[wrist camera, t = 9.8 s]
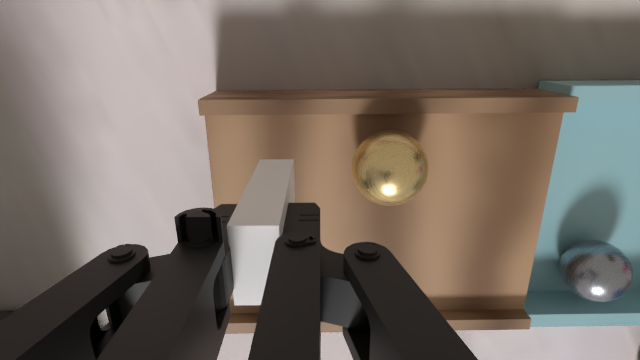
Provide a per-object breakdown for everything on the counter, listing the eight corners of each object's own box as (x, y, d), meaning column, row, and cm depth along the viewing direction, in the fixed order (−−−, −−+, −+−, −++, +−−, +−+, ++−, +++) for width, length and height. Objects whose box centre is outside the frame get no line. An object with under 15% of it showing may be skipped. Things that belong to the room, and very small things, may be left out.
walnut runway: (235, 295, 29) (223, 333, 25) (216, 90, 24) (198, 100, 20) (501, 292, 29) (529, 329, 26) (537, 88, 24) (579, 97, 20)
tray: (500, 297, 29) (521, 327, 26) (539, 80, 24) (571, 85, 21) (657, 295, 30) (696, 324, 27) (730, 78, 24) (789, 84, 21)
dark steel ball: (640, 311, 25) (589, 276, 29) (658, 256, 24) (602, 227, 27) (585, 318, 24) (540, 282, 28) (600, 262, 23) (551, 231, 27)
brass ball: (347, 190, 23) (354, 219, 19) (349, 123, 22) (356, 140, 18) (414, 189, 23) (434, 218, 19) (420, 123, 22) (442, 139, 18)
